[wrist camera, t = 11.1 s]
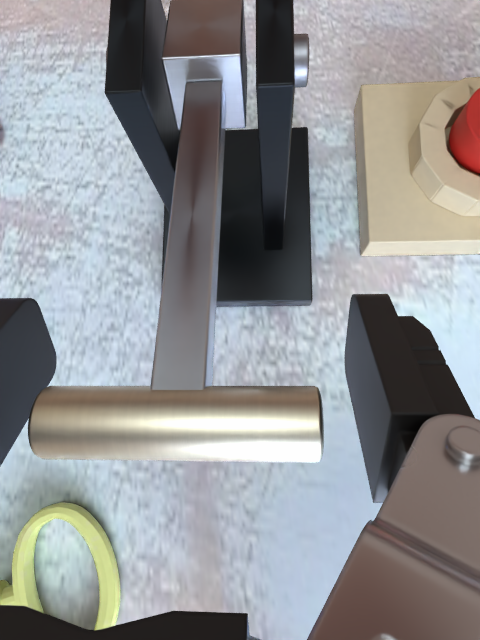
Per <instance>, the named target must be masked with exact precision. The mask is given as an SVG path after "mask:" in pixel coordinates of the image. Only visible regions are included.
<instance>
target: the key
mask: <svg viewBox="0 0 480 640" xmlns="http://www.w3.org/2000/svg"><path fill="white" fill-rule="evenodd" d="M53 519H62V520H65V521H67V522H69V523H70V524H71V525H72V526H74V527H75V528H76V530H77V531H78V532H79V533H80V534H81V536H82V537H83V538H84V540H85V541H86V542H87V545H88V547H89V549H90V551H91V554H92V556H93V559H94V562H95V566H96V570H97V575H98V581H99V609H98V615H97V620H96V625H95V628H94V630H100V629H104V628H108V627H112V626H115V623H116V620H117V616H118V611H119V605H120V581H119V573H118V567H117V562H116V559H115V555H114V552H113V549H112V546H111V544H110V541H109V538H108V537H107V535H106V533H105V531H104V530H103V528H102V527H101V526H100V524H99V523H98V522H97V520H96V519H95V518H94V517H93V516H92V515H91V514H90V513H89V512H88V511H87V510H85V509H84V508H83V507H81V506H78V505H76V504H72V503H64V502H61V503H56V504H52V505H50V506H47V507H45V508H42V509H41V510H40V511H38V512H37V513H36V514H34V515H33V516H32V518H31V519H30V520H29V521H28V522H27V523H26V524H25V526H24V527H23V529H22V530H21V532H20V534H19V536H18V539H17V542H16V546H15V549H14V552H13V561H12V584H13V585H10V584H9V583H8V582H7V581H5V580H0V605H15V606H27V607H29V608H32V609H34V610H37V611H40V612H42V613H44V612H43V609H42V606H41V603H40V600H39V596H38V592H37V588H36V581H35V573H34V551H35V545H36V541H37V537H38V533H39V531H40V529H41V527H42V526H43V525H44V524H46V523H47V522H49V521H51V520H53Z"/></svg>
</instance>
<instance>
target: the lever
mask: <svg viewBox="0 0 480 640" xmlns="http://www.w3.org/2000/svg"><path fill="white" fill-rule="evenodd" d="M161 61H162V65H163V70H164V74H165V78H166V83H167V87H168V91H169V96H170V100H171V104H172V109H173V113H174V117H175V122H176V126H177V129H178V130H180V136H179V144H178V153H177V162H176V170H175V179H174V188H173V196H172V205H171V214H170V222H169V231H168V240H167V248H166V257H165V266H164V274H163V283H162V292H161V300H160V309H159V318H158V326H157V335H156V344H155V352H154V361H153V370H152V378H151V386H49V387H46V388H44V389H43V390H42V391H40V393H39V394H38V395H37V396H36V398H35V400H34V402H33V405H32V408H31V411H30V415H29V422H28V437H29V443H30V446H31V449H32V451H33V452H34V454H35V455H36V456H38V457H40V458H42V459H71V460H151V461H231V462H311V463H317V462H319V461H320V460H321V458H322V454H323V443H324V425H323V408H322V399H321V394H320V391H319V389H318V388H317V387H315V386H212V376H213V357H214V338H215V319H216V299H217V280H218V261H219V242H220V222H221V203H222V184H223V164H224V145H225V129H227V128H245V127H246V102H247V57H246V39H245V20H244V1H243V0H171V1H170V7H169V13H168V19H167V26H166V32H165V38H164V45H163V51H162V57H161Z"/></svg>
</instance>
